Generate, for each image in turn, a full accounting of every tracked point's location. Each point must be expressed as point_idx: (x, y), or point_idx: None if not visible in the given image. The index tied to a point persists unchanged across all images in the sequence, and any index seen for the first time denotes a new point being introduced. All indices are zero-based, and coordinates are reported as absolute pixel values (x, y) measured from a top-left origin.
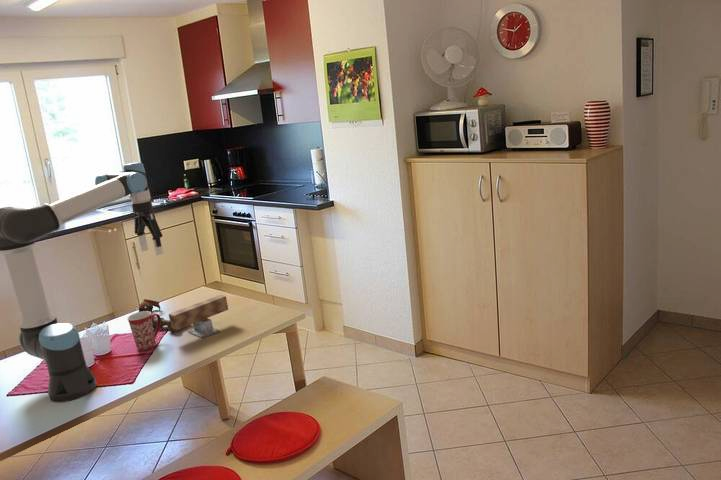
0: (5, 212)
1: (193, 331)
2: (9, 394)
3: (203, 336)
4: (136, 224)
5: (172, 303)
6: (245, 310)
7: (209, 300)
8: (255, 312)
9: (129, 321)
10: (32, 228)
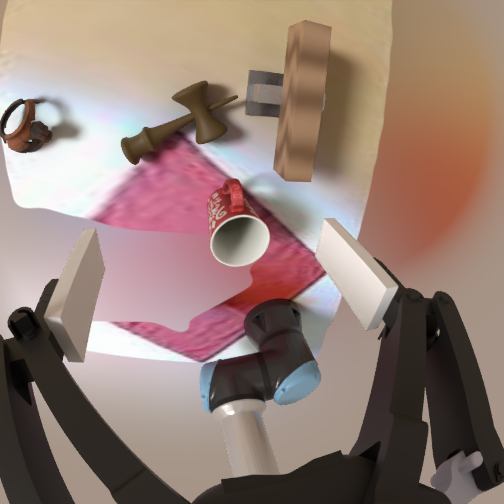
0: None
1: (262, 109)
2: (201, 361)
3: None
4: (55, 467)
5: (19, 63)
6: None
7: (313, 64)
8: None
9: (239, 262)
10: None
